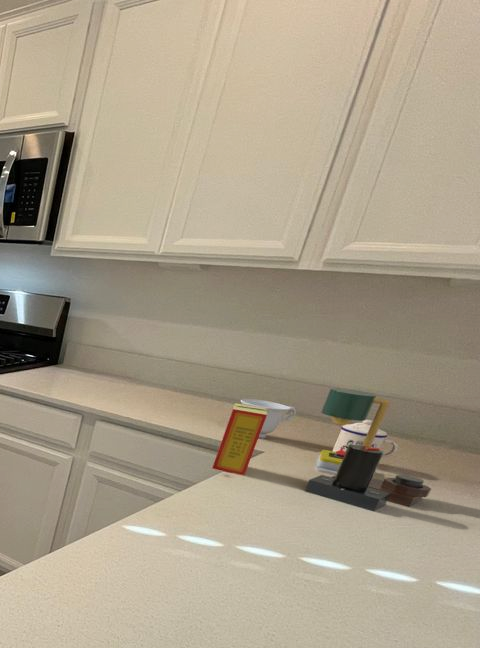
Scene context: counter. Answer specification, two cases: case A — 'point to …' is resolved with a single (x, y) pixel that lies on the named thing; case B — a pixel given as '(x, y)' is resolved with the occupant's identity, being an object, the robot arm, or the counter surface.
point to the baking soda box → (240, 438)
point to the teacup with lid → (361, 437)
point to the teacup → (271, 414)
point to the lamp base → (399, 491)
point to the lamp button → (409, 481)
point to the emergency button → (329, 461)
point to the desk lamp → (354, 409)
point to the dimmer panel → (347, 493)
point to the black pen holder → (357, 467)
